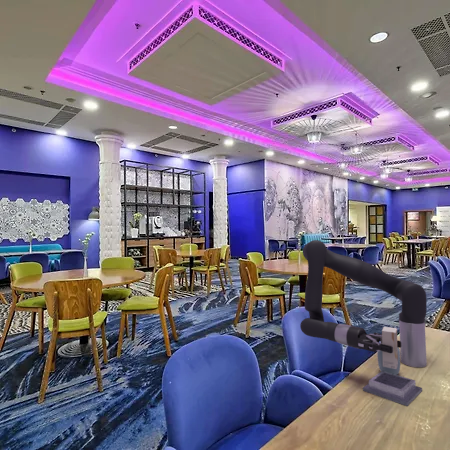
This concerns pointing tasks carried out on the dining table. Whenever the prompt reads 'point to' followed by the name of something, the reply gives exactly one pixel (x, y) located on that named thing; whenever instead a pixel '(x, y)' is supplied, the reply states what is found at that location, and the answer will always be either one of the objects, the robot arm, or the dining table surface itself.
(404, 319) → the robot arm
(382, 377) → the tray
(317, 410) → the dining table surface
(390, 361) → the skincare box
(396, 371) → the cup
